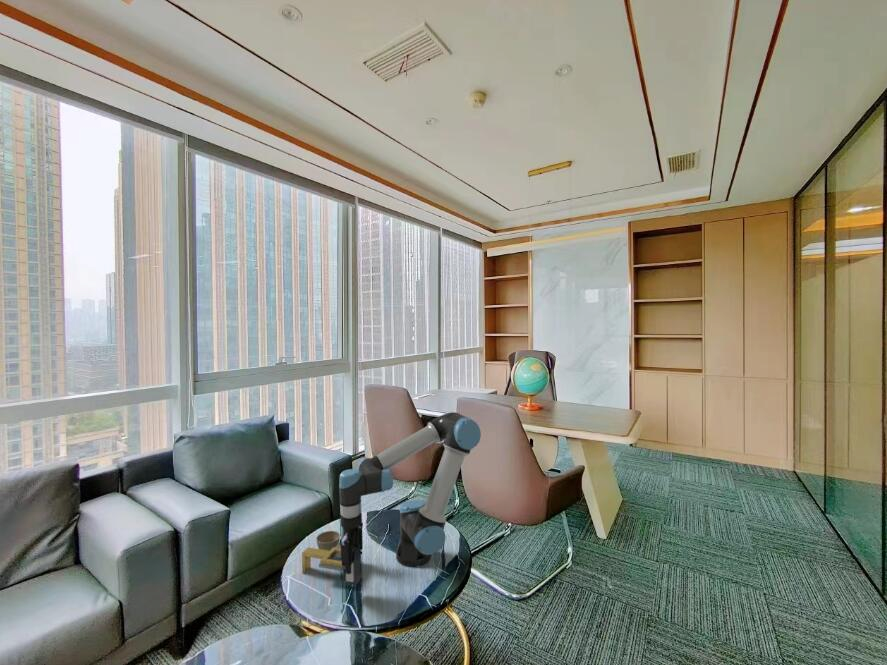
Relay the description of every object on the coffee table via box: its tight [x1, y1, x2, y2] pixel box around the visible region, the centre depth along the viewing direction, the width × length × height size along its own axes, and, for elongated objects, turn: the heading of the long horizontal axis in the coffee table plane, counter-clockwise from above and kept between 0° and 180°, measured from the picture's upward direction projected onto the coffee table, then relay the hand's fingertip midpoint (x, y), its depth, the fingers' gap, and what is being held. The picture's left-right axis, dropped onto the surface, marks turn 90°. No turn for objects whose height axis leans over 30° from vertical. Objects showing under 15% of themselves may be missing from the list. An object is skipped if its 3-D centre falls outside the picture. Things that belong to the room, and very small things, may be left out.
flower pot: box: [315, 530, 341, 551], centre depth 167 cm, size 10×10×7 cm
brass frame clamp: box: [301, 526, 345, 575], centre depth 155 cm, size 20×16×22 cm
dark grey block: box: [344, 546, 362, 586], centre depth 140 cm, size 4×4×12 cm
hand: (353, 576), depth 140 cm, fingers closed on dark grey block, 4 cm apart
